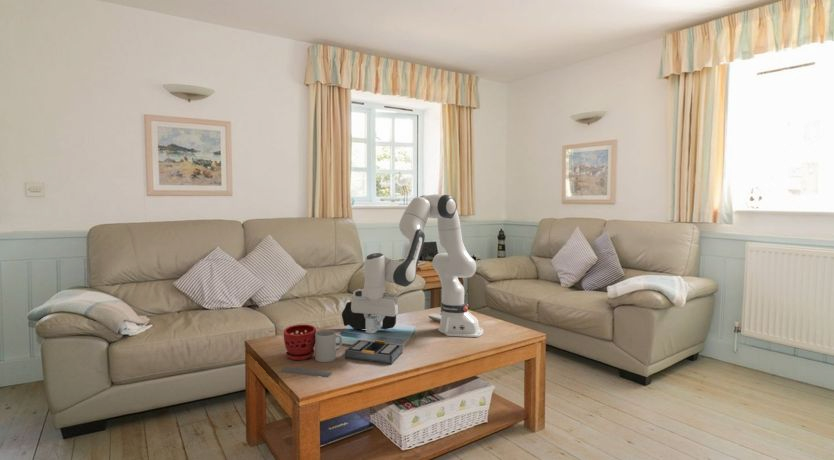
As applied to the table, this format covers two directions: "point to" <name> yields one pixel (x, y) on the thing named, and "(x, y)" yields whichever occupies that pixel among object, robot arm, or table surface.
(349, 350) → the rack
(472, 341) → the table surface
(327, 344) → the mug
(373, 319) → the grey rectangular block
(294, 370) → the half round rod
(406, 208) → the robot arm
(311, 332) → the plant pot
